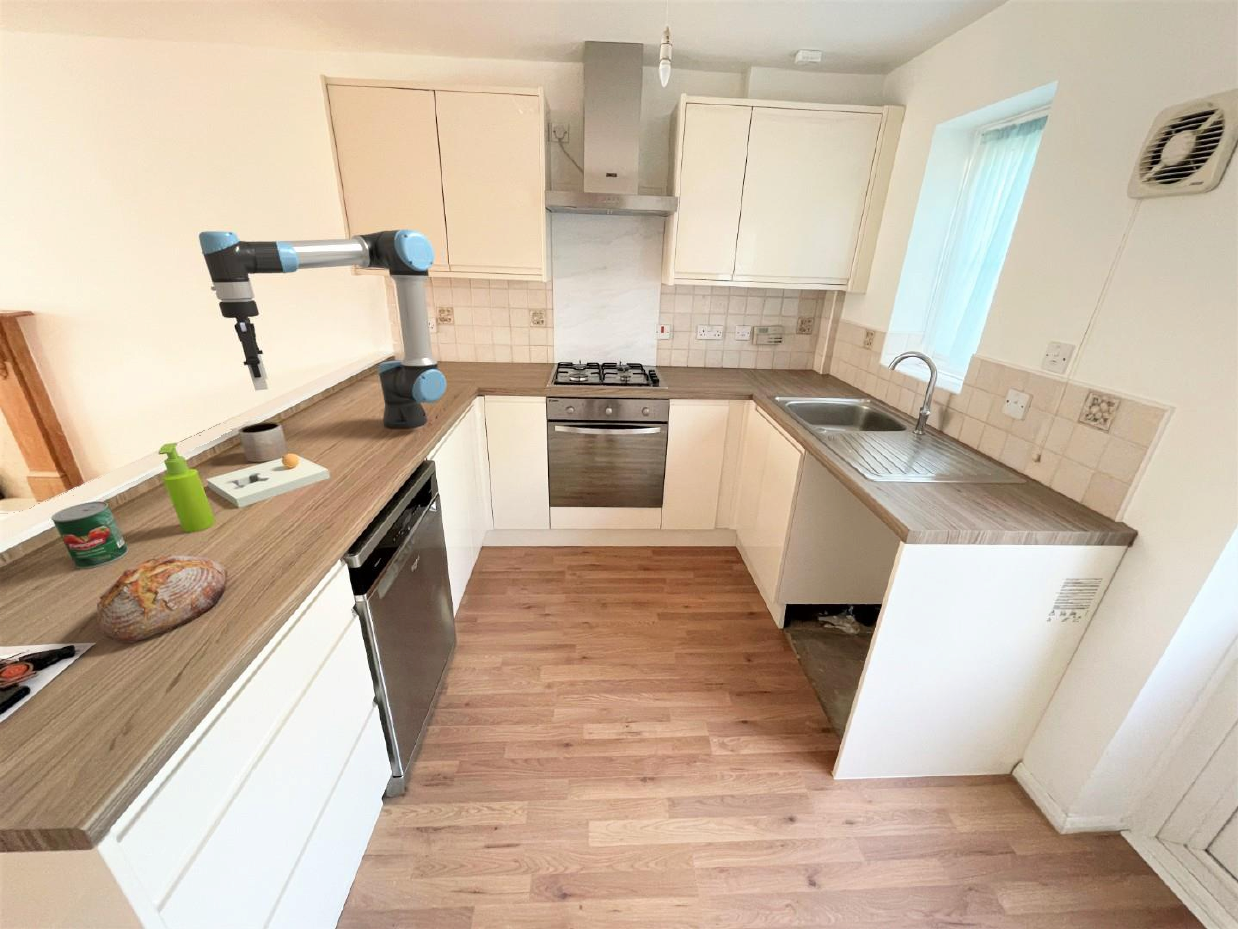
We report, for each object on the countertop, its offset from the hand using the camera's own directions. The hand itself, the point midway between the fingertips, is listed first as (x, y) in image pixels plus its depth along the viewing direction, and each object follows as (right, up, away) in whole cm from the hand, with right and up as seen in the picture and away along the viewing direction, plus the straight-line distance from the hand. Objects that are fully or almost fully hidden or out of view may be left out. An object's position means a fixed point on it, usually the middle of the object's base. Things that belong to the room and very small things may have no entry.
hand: (261, 384), depth 130 cm
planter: (-14, -19, +22) cm, 32 cm away
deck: (-1, -26, +4) cm, 27 cm away
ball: (+3, -20, +7) cm, 22 cm away
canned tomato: (-12, -41, -29) cm, 51 cm away
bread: (+15, -47, -43) cm, 65 cm away
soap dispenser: (-2, -36, -17) cm, 40 cm away
